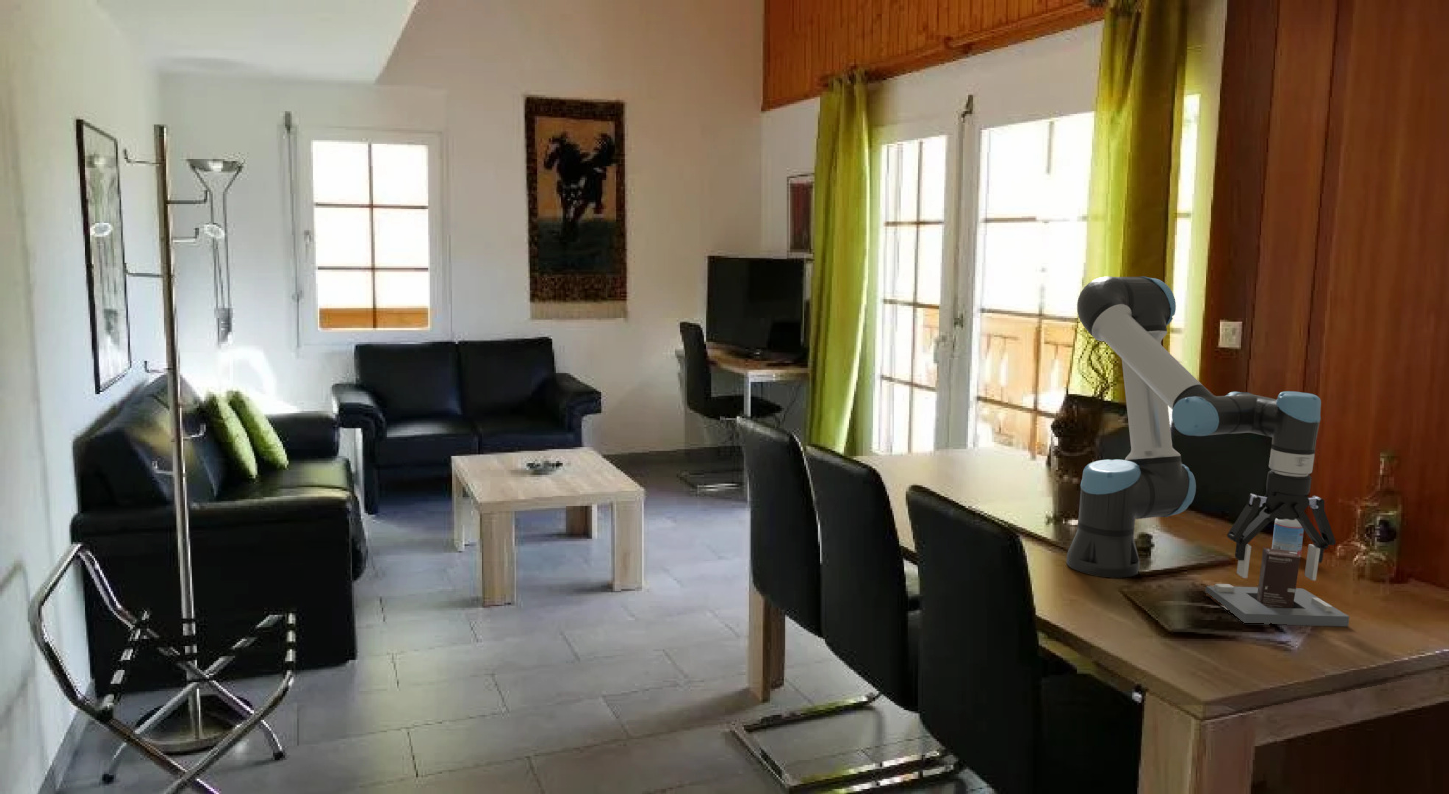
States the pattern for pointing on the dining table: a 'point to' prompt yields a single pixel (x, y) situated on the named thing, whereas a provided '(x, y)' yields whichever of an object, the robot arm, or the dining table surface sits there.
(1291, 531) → the pill bottle
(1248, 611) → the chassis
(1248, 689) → the dining table surface
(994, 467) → the dining table surface
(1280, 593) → the box
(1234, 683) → the dining table surface
